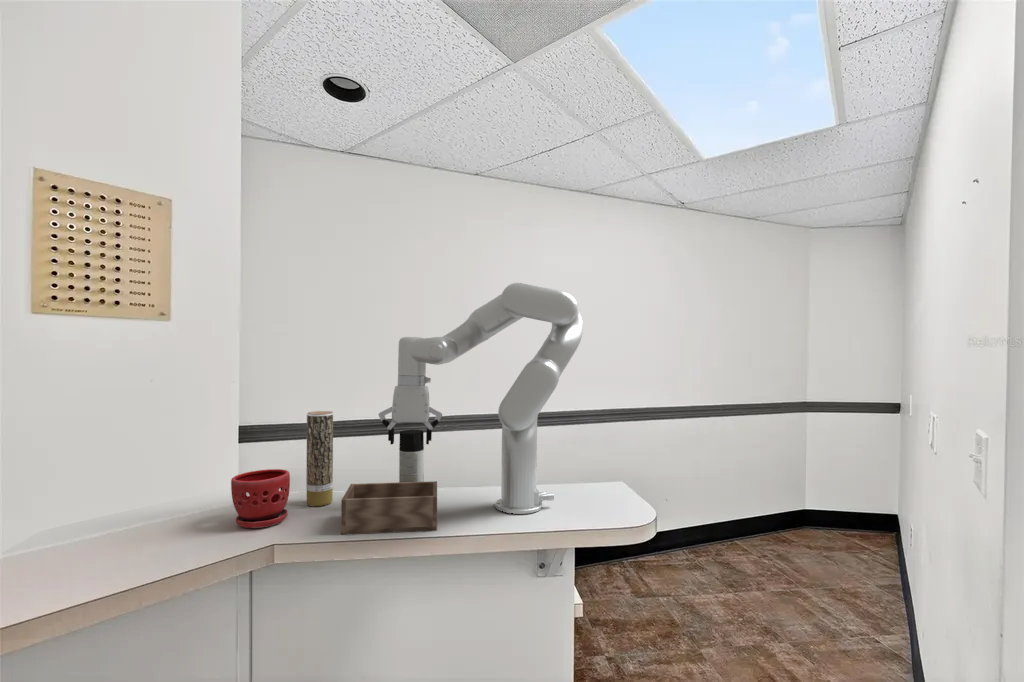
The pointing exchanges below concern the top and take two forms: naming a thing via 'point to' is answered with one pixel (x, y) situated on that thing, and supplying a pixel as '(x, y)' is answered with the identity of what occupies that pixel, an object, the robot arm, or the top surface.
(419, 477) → the spray can
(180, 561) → the top surface
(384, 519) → the walnut box
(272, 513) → the plant pot
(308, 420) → the paper tube
